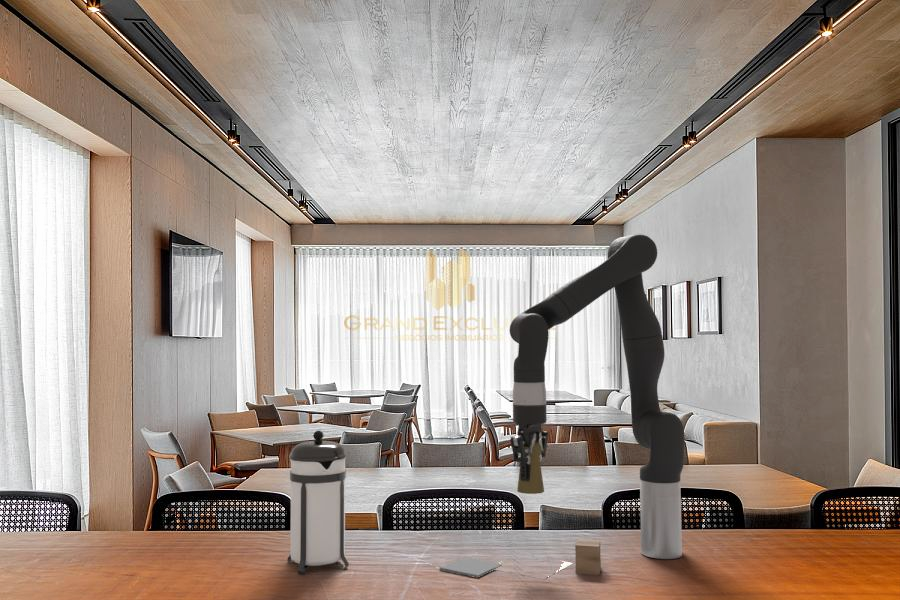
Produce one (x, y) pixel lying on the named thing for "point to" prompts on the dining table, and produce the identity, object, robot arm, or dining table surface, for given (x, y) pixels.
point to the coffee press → (317, 504)
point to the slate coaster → (470, 566)
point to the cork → (533, 473)
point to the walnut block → (588, 556)
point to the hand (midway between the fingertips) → (530, 479)
